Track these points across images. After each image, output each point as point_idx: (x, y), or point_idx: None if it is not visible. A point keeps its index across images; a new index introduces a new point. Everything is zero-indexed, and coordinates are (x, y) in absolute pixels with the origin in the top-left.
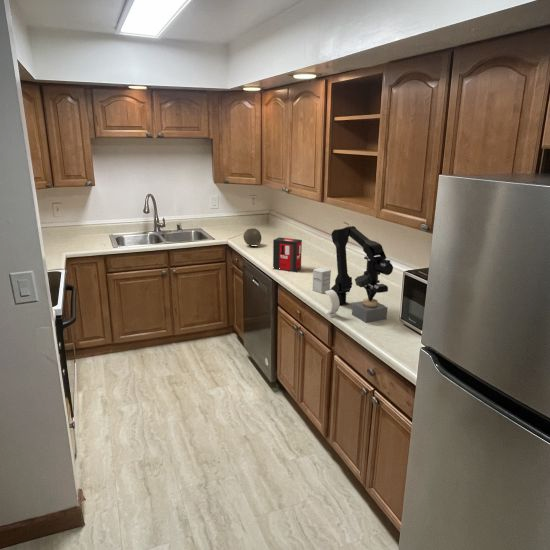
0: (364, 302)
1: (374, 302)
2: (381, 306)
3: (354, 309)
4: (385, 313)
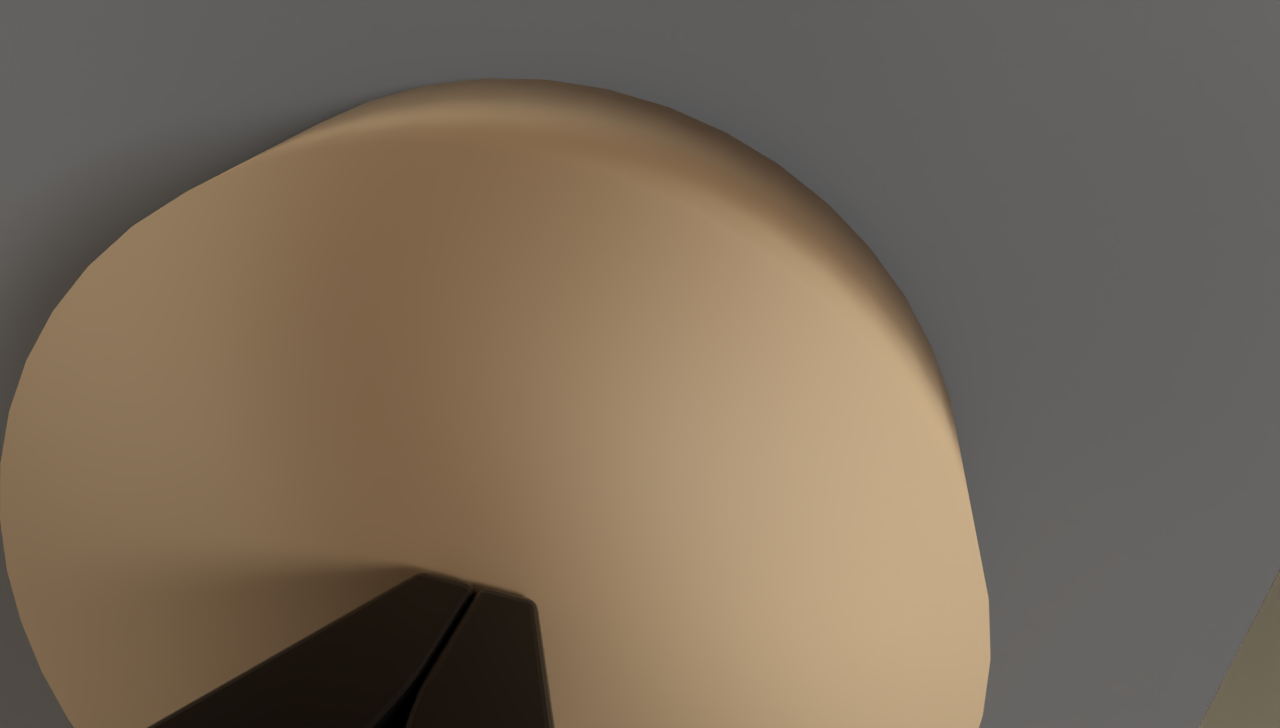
0: (510, 134)
1: (76, 585)
2: None
3: None
4: None
